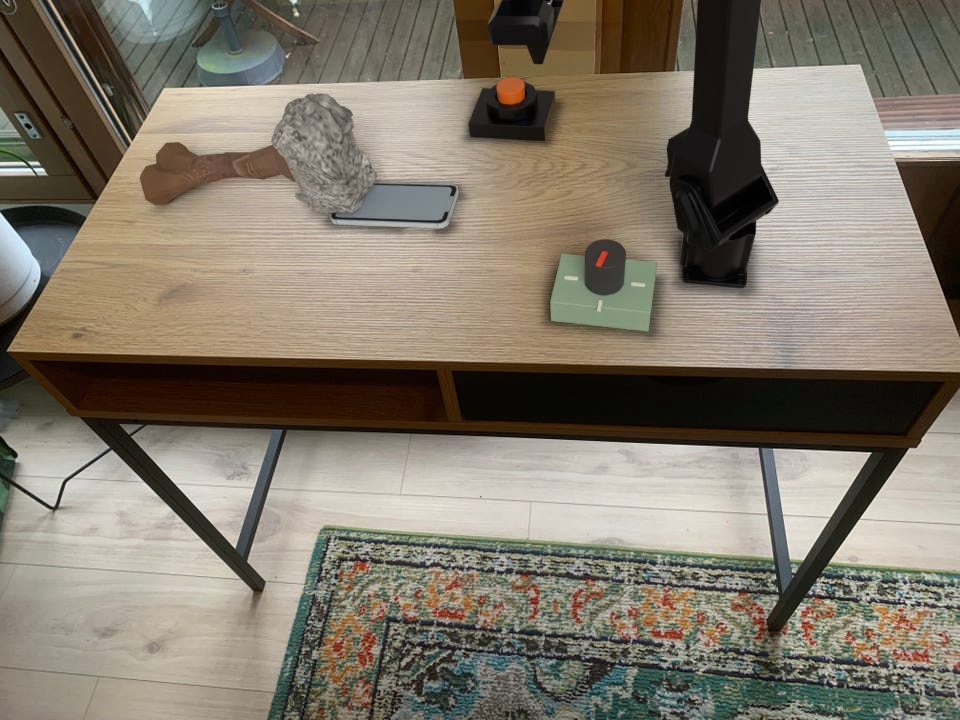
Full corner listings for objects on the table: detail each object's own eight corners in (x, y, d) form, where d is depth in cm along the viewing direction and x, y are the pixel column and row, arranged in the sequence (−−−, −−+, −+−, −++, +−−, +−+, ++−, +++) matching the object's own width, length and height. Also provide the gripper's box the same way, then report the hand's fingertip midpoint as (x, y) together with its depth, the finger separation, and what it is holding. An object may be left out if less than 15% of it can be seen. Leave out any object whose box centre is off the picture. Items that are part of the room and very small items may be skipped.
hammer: (202, 176, 104) (395, 161, 93) (178, 237, 100) (376, 228, 89) (127, 98, 91) (340, 71, 81) (96, 164, 87) (316, 145, 77)
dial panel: (655, 277, 79) (657, 256, 77) (647, 336, 75) (650, 315, 72) (562, 269, 82) (562, 248, 79) (549, 325, 77) (548, 305, 75)
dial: (592, 263, 78) (592, 233, 74) (629, 272, 76) (631, 241, 73) (578, 290, 75) (578, 260, 72) (616, 299, 74) (618, 269, 71)
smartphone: (345, 181, 94) (459, 184, 91) (347, 186, 95) (460, 190, 92) (327, 220, 90) (446, 225, 86) (329, 226, 91) (447, 231, 87)
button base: (555, 105, 100) (554, 78, 97) (544, 141, 96) (543, 114, 93) (483, 102, 102) (480, 75, 99) (470, 137, 98) (466, 111, 95)
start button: (527, 89, 97) (526, 77, 95) (522, 106, 95) (521, 93, 93) (500, 88, 98) (499, 76, 96) (494, 104, 96) (493, 92, 94)
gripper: (473, -116, 82) (489, 22, 94) (427, -38, 71) (452, 107, 83) (574, -121, 79) (577, 22, 91) (542, -40, 68) (550, 110, 80)
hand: (538, 62), depth 86 cm, fingers closed
